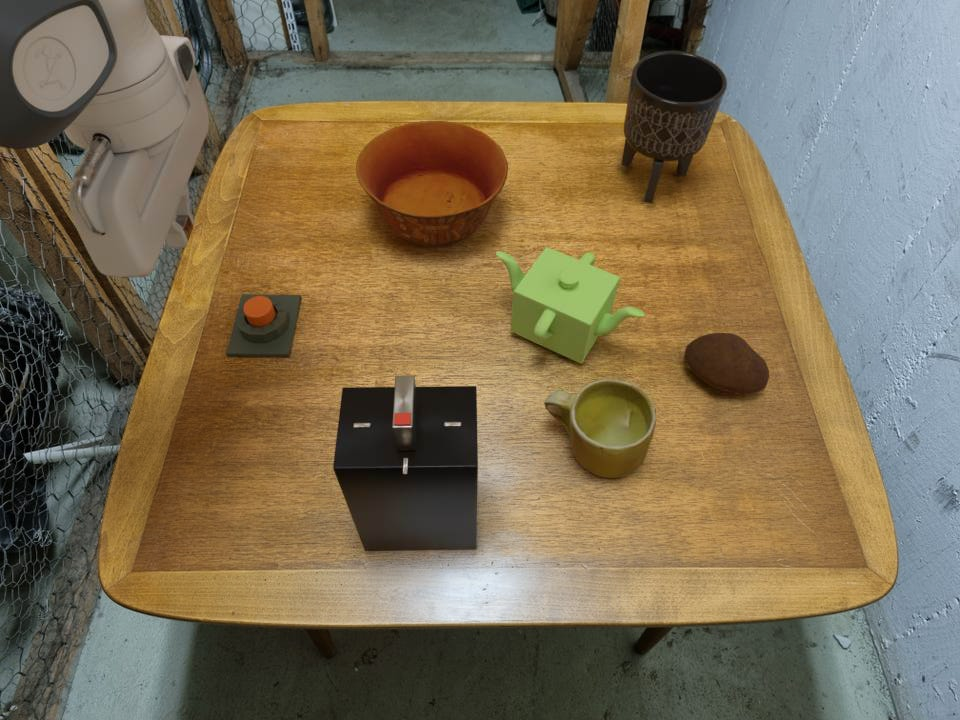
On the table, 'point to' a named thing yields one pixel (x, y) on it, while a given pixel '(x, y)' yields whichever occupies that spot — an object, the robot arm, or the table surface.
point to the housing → (265, 329)
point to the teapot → (564, 302)
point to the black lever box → (410, 469)
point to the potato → (727, 363)
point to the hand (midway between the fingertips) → (182, 236)
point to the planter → (670, 110)
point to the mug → (606, 425)
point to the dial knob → (405, 413)
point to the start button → (259, 311)
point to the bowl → (432, 179)
